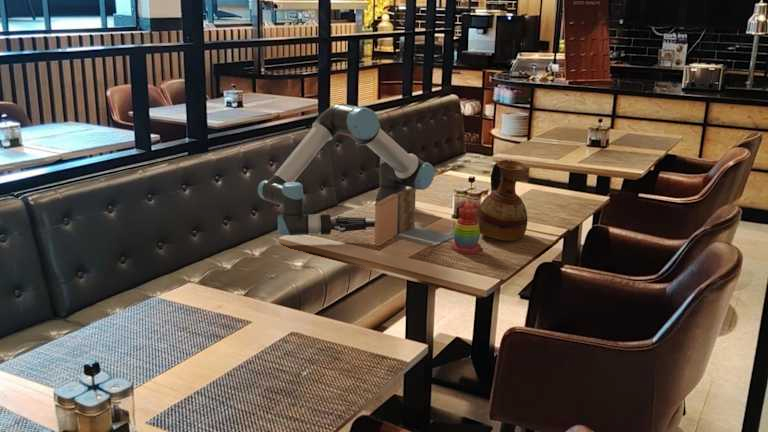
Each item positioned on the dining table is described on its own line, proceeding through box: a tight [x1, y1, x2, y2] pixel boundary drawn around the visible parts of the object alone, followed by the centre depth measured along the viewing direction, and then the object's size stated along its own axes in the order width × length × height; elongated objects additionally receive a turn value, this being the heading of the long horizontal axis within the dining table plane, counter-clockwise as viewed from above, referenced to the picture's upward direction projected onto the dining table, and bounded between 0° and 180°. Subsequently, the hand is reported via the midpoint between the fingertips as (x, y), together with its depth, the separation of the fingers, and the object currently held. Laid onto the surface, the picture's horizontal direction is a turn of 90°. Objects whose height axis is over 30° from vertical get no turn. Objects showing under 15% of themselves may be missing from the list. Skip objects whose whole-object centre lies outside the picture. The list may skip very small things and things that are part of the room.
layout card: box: [392, 226, 454, 248], centre depth 285 cm, size 15×22×1 cm
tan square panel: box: [374, 194, 399, 246], centre depth 276 cm, size 16×2×16 cm, turn 154°
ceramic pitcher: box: [475, 159, 528, 241], centre depth 282 cm, size 20×20×30 cm
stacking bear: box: [450, 202, 482, 255], centre depth 268 cm, size 11×10×18 cm
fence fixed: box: [397, 187, 417, 234], centre depth 288 cm, size 12×2×16 cm, turn 143°
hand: (383, 223), depth 277 cm, fingers closed
